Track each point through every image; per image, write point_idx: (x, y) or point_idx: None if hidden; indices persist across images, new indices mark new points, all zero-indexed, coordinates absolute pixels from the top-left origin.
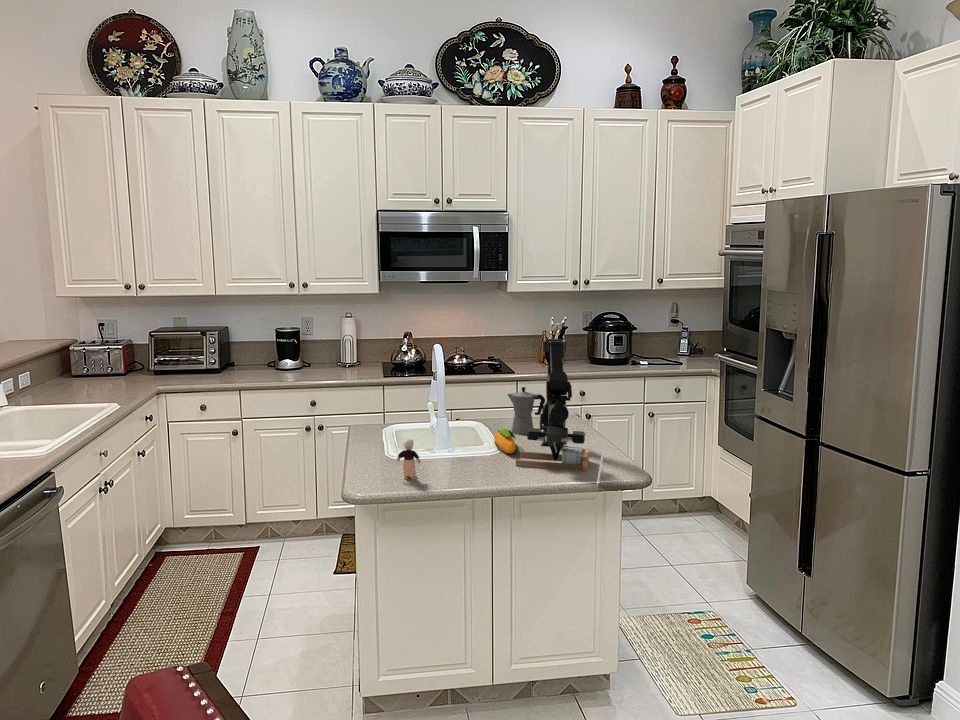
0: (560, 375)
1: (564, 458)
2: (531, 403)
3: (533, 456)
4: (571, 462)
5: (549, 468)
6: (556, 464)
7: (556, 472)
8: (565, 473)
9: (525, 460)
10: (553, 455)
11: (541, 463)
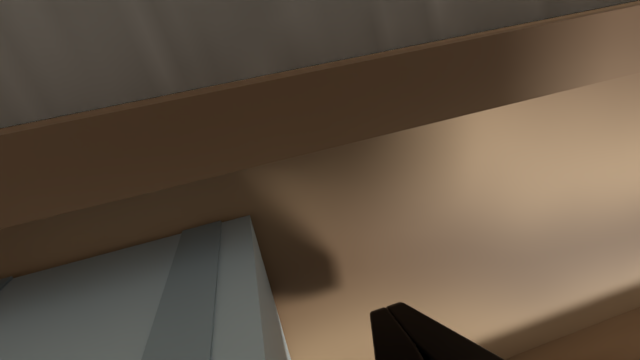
0: None
1: (193, 317)
2: None
3: (621, 338)
4: (49, 315)
5: (394, 50)
6: (304, 73)
7: (262, 17)
8: (103, 26)
9: None
10: (466, 349)
11: (570, 17)
